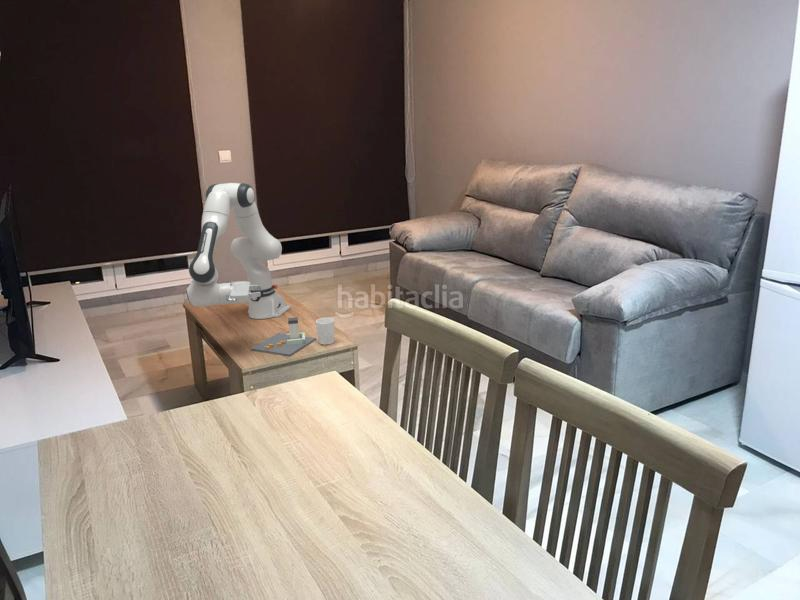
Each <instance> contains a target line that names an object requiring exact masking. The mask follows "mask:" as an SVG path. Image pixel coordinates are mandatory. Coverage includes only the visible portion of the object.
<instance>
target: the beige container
mask: <svg viewBox="0 0 800 600" xmlns="http://www.w3.org/2000/svg"><path fill="white" fill-rule="evenodd" d="M287 322H288V331H289V333H288V334H290V340H291V339H300V338H299V333H300V330H299V319H298V316H297V317H288V318H287Z"/></svg>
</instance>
